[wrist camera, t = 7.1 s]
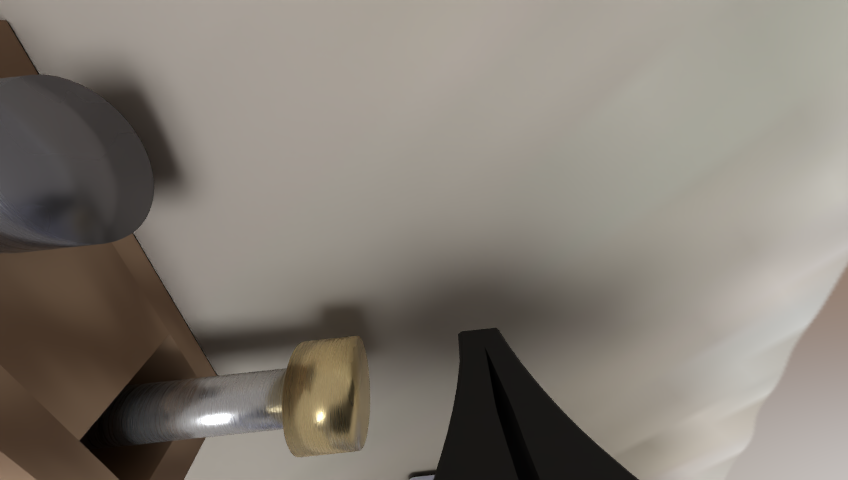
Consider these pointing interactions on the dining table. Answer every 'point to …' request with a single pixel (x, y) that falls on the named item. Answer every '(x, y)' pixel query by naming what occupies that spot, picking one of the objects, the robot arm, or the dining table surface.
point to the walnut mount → (84, 350)
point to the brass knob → (252, 404)
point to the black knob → (67, 167)
